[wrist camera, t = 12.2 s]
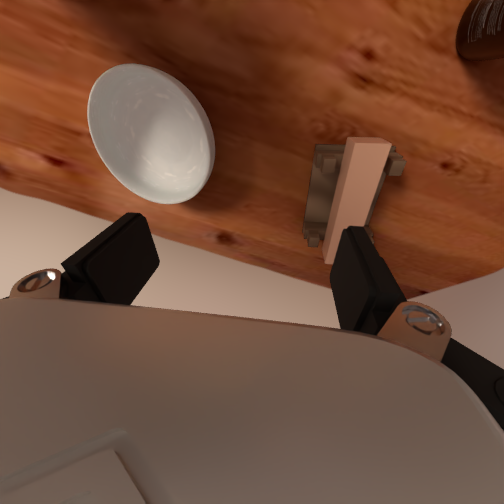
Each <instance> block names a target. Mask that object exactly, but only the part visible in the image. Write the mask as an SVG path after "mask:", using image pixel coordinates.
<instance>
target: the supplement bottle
mask: <svg viewBox="0 0 504 504" xmlns="http://www.w3.org/2000/svg"><path fill="white" fill-rule="evenodd" d="M456 45H457V49H458V51H459V53H460V55H461V56H462V57H463V58H465V59H467V60H469V61H486V60H492V59H499V58H504V0H472V1H471V2H470V4H469V5H468V7H467V8H466V10H465V12H464V14H463V16H462V18H461V20H460V23H459V26H458V29H457V35H456Z"/></svg>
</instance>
